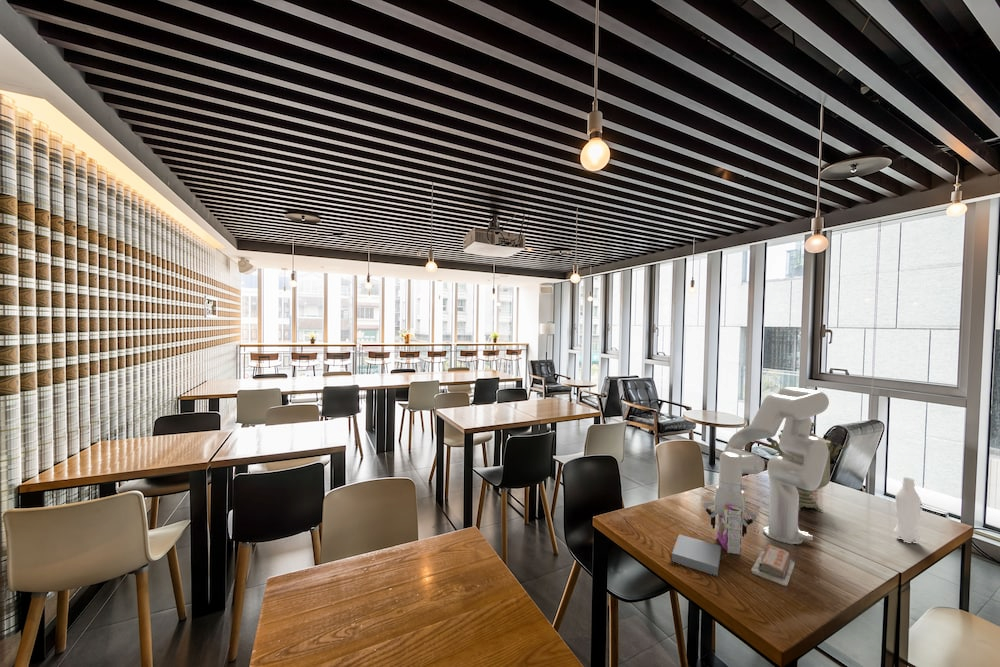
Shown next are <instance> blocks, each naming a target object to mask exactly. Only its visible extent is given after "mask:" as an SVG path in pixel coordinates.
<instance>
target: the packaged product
mask: <svg viewBox="0 0 1000 667" xmlns="http://www.w3.org/2000/svg"><path fill="white" fill-rule="evenodd" d="M795 564H796V562H795V561H793V560H790V552H788V551H787V550H785V549H783V548H780V547H776V546H773V545H770V544H768V546H767V547H766V549H765V550H761V552H760V553H759V555H758V557H757V559H756V560H755V563H754V564H753V565H752V567H751V570H750V571H751V574H753V575H756V576H759V577H761V578H763V579H766V580H768V581H770V582H775V583H776V584H779V585H782V586H785V587H788V585H789V582H790V578H791V575H792V574H793V570H794V568H795Z"/></svg>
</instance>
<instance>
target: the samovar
mask: <svg viewBox="0 0 1000 667" xmlns="http://www.w3.org/2000/svg"><path fill="white" fill-rule="evenodd" d="M816 425H817V423H815V422H812V426H811V430H810V435H809V436H813V437H816V438H819V439H822V440H823V441H824V442H825V443H826V444H827V446H828V459H827V462H826V466H825V469H824V473H823V476H822V480H821V482H820V485H819V487H818V488H817V489H815V490H813V491H808V490H804V489H801V488H799V487H796V489H797V491H798V494H799V506H798V511H801V509H802V508H804V507H805V508H811V509H813V508H814V509H816V510H817V511H819V512H820V511H823V512H824V510H823V509H821V508H820V506H819V504H818V502H817V500H815V499H814V498H813V497H811V496H810V495H813V494H814V491H816V490H821V489H822V488H825V487H826V486H827V485H828V484H830V481H831V457H836V456H837V455H839V450H844V449H845V447H844V446H843V445H841V443H837V442H832V441H831V440H829V439H828V438H829V437H830V435H829V434H823V437H821V436H818V435H817V434H815V433H814V432H813V431H814V427H815V426H816ZM782 431H783V429H781V430H780V432H781V433H779V434H778V439H779V440H780V438H781V434H782ZM765 439H766V441H767V442H768V443H770V446H771V447H772V448H773V449H774V450H775V451H777V452H778V456H782V457H786V458H789V459H793V460H796V461H799V462H802V463H804V459H801V458H798V457H794V456H791V455H788V454H786V453H784V452H782V451H781V450H780V448H779V443H778V441H777V440H775V439H773V437H771V438H765ZM834 447H835V449H834ZM833 451H834V452H833Z"/></svg>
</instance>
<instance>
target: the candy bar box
mask: <svg viewBox="0 0 1000 667" xmlns="http://www.w3.org/2000/svg"><path fill="white" fill-rule="evenodd" d="M716 516H717V518H716V519H717V522H716V523H717V525H716V539H717V540H718V542H719V543H720V546H721V547H722V548H723V549H724V550H725V552H726V553H727V554H730V553H732V555H740V556H741V552H742V551H741V550H742V522H741V517H742V510H741V509H740V508H738V507H733V506H728V505H724V512H723V516H722V515H718V514H717V515H716Z"/></svg>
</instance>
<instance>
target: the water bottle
mask: <svg viewBox="0 0 1000 667" xmlns="http://www.w3.org/2000/svg"><path fill="white" fill-rule="evenodd" d="M902 479H903V480H902V482H901V483H902V486H901V487H900V489H899V490H898V491H897V492H896V494H895V506H894V507H895V508H894V511H895V514H896V517H897V524H896V526H895V528H894V529H893V532H894V536H895V537H898V538H902V540H904V541H908V542H918V543H919V542H920V539H921V535H920V534H919V531H918V523H919V521H920V520H921V517H922V516H921V505H922V501H921V497H920V496H919V493H917V491H916V489H915V486H916V485H915V479H913V478H911V477H906V476H905V477H903V478H902ZM902 540H901V541H902ZM904 541H903V542H904Z"/></svg>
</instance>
